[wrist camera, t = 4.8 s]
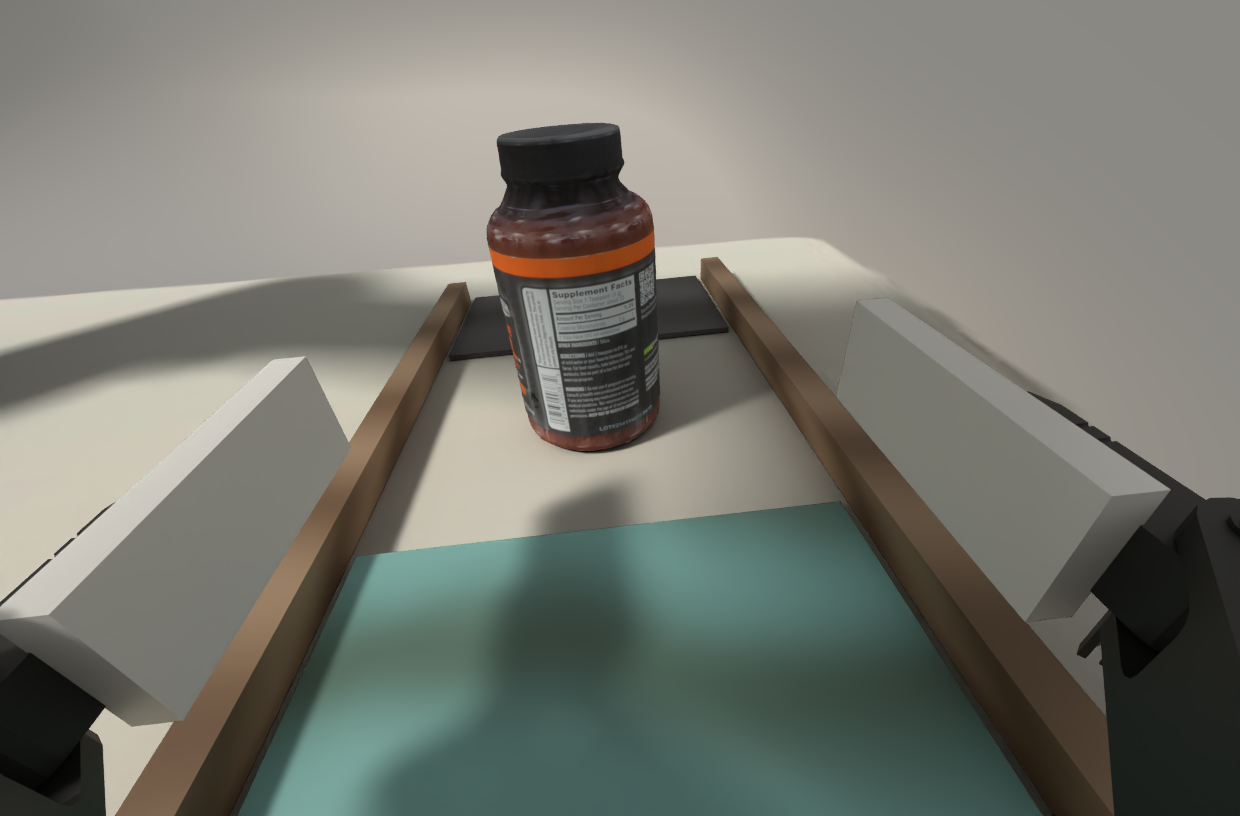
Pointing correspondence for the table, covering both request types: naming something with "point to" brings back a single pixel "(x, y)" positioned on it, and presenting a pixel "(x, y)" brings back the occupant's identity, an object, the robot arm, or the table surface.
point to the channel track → (634, 648)
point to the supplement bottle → (577, 285)
